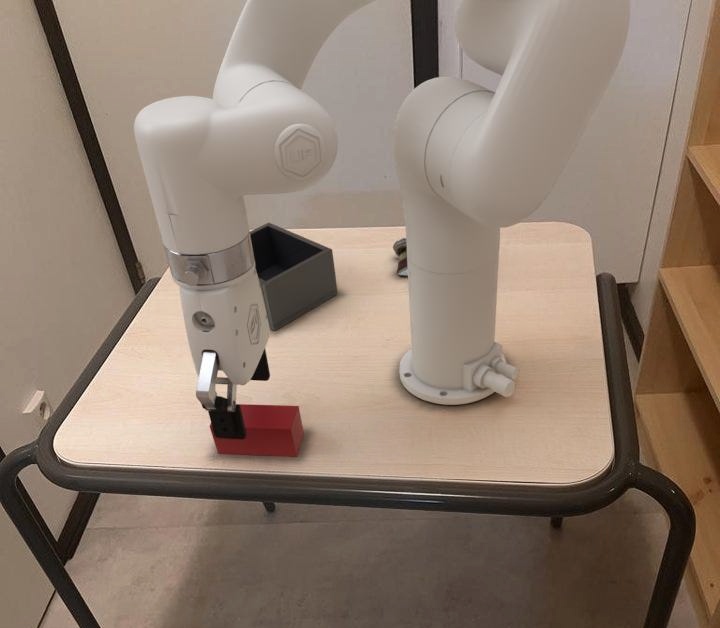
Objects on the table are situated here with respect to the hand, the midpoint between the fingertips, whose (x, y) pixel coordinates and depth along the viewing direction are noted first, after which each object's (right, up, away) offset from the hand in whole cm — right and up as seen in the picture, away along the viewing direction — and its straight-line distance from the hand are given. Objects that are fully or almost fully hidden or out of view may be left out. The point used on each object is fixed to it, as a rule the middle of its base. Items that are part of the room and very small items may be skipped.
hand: (244, 406), depth 76 cm
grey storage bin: (0, +18, +26) cm, 32 cm away
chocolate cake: (+22, +22, +27) cm, 41 cm away
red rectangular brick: (+1, -4, +4) cm, 6 cm away
